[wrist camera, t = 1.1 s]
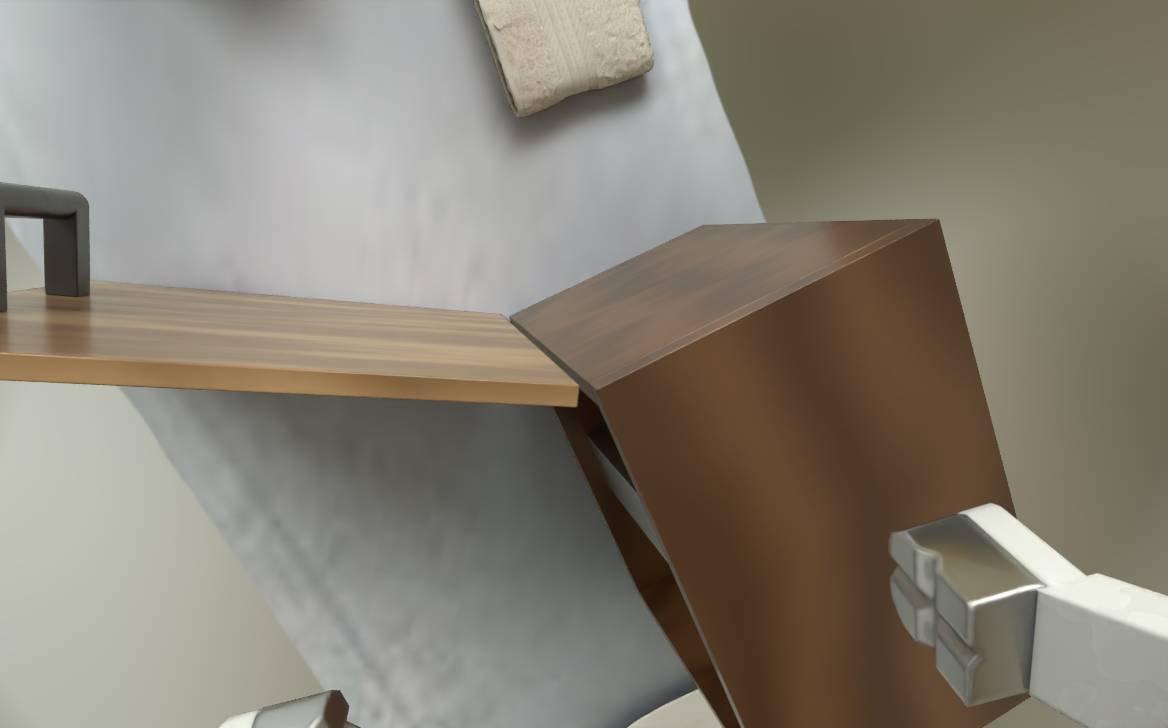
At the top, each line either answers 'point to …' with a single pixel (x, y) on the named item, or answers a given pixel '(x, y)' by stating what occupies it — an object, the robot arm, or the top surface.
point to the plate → (680, 714)
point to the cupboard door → (248, 334)
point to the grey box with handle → (620, 479)
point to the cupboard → (783, 455)
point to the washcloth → (563, 47)
